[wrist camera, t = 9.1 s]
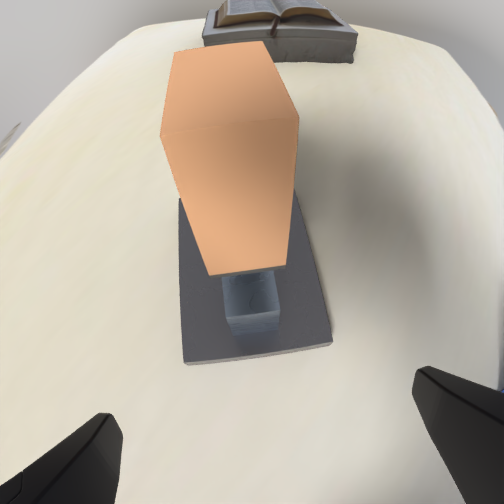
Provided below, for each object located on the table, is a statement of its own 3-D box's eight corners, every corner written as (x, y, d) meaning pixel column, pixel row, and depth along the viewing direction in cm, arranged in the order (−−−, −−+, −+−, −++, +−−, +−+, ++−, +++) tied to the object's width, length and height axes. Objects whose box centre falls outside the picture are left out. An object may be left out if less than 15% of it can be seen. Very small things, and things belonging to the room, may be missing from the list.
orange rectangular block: (285, 268, 12) (299, 117, 6) (210, 278, 12) (159, 135, 6) (265, 177, 15) (262, 41, 9) (204, 185, 15) (174, 52, 8)
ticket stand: (329, 345, 20) (395, 262, 10) (188, 365, 20) (103, 303, 9) (291, 191, 27) (300, 68, 17) (181, 206, 27) (142, 88, 16)
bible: (357, 78, 39) (366, 23, 31) (185, 71, 42) (175, 19, 34) (341, 33, 51) (344, -6, 42) (216, 28, 53) (212, -10, 45)
